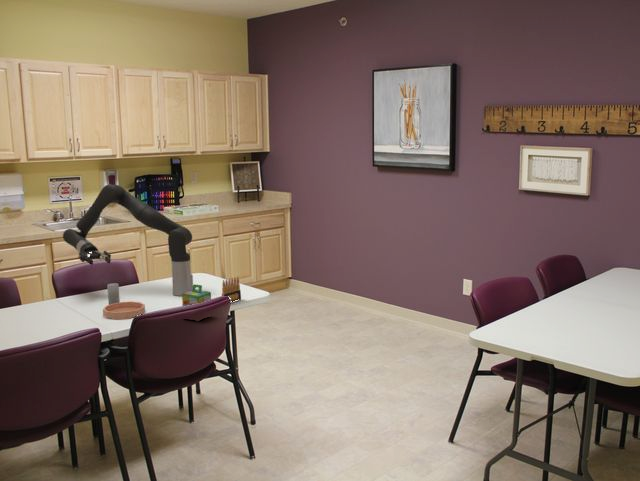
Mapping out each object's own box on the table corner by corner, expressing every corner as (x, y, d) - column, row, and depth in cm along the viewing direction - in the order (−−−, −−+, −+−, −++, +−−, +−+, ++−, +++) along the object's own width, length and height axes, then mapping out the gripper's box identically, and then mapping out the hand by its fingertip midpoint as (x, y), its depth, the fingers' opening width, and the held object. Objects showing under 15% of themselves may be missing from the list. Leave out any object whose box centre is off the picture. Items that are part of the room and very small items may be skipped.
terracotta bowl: (134, 305, 292) (134, 299, 292) (151, 313, 279) (151, 307, 278) (97, 312, 281) (97, 306, 281) (113, 321, 268) (112, 315, 267)
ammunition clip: (224, 305, 292) (223, 280, 290) (221, 304, 293) (220, 279, 291) (241, 300, 300) (240, 276, 298) (238, 299, 301) (237, 275, 299)
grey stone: (117, 303, 297) (115, 282, 295) (121, 305, 293) (120, 284, 292) (107, 305, 294) (105, 284, 292) (111, 307, 290) (109, 286, 289)
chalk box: (182, 319, 270) (180, 286, 267) (195, 314, 278) (194, 281, 275) (199, 322, 266) (197, 288, 263) (212, 316, 274) (211, 284, 271)
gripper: (73, 243, 303) (87, 256, 292) (101, 241, 313) (116, 254, 302) (72, 257, 305) (85, 270, 294) (100, 255, 315) (114, 268, 304)
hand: (101, 262), depth 298 cm, fingers open, 8 cm apart
